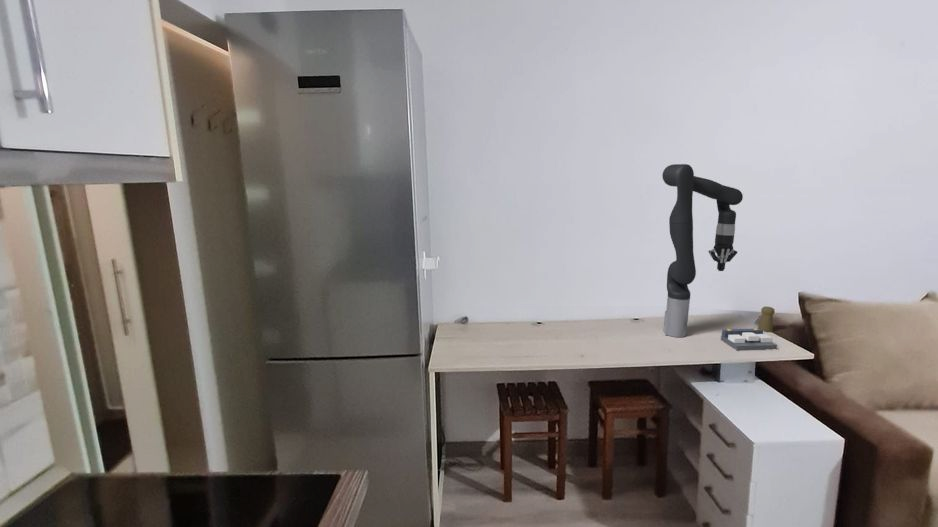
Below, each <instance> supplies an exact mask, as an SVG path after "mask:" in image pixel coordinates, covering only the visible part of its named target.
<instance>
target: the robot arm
mask: <svg viewBox="0 0 938 527" xmlns="http://www.w3.org/2000/svg"><path fill="white" fill-rule="evenodd" d="M661 176H662V180H663V182H664V184H666V185H667V186H669V187H675V188H676V190H677V191H676V201H675V204H674V206H673V208H672V210H671V212H670V215H669V218H668V220H669V222H668V223H669V225H668V227H669V235H670V238H671V242H672V245H673V248H674V251H675V256H676V257H675V258H676V259H675V261H673V262H671V263H670V264H669V266H668V269H667V275H666V290H667V299H666V310H665V311H664V316H663V317H664V318H663V319H664V321H663V327H662V328H663V329H662V331H663V333H664V335H665V336H669V337H673V338H685V337H686V336H687V332H688V322H689V313H690V312H689V311H690V305H691V304H690V302H691V291H690V288H689V287H688V285H690V284H692V283H693V282H694V281H695V278H696V275H697V269H696V263H695V262H696V261H695V257H694V256H695V255H694V220H693V217H694V216H693V197H694V196H693V194H694V193H697V194H699V195H701V196H704V197H707V198H709V199H713V200H716V208H717V211H718V216H717V224H716V228H715V238H714V246H713V249H711V250H710V249H709V250H708V251H707V252H708V253H709V256H710V257H711V258H712V260H713V261H714V262H716V263H717V268H716V269H717V271H718V272H724V271H725V269H726V263H727V262H728V263H729V262H731V261H733V260H732V259H733V258H735V256H736V255H737V254H738V251H737V250H735V248H734V246H733V245H734V242H735V234H736V233H735V231H736V220H737V219H736V218H737V212H736V211H735V210H733V209H731V206H735V205H737V206H738V205H739V204H740V203H741V202H742V201H743V199H744V197H743V196H744V194H743V193H742V191H740V189H739V188H735V187H731V186H728V185H724V184H721V183H720V182H717V181H714V180H712V179H708V178H705V177H700V176H697V175H695V172H694V170H693V168H692V166H691V165H690V164H687V163H685V164H684V163H680V164H679V163H678V164H677V163H675V164H670V165H667V166H666V167H665V168H664V170H663V171H662V175H661Z"/></svg>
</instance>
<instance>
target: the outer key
mask: <svg viewBox="0 0 938 527" xmlns="http://www.w3.org/2000/svg"><path fill="white" fill-rule="evenodd" d="M756 335H758V336H759V341H760V342H762V343H765V342H772V343H773V341H774V338H773V336H770V335H769V334H767V333H763V334H756Z"/></svg>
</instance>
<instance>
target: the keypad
mask: <svg viewBox="0 0 938 527" xmlns="http://www.w3.org/2000/svg"><path fill="white" fill-rule="evenodd" d="M746 332H753V333H755V334H764V332H763V330H762V329H760V328H758V327H755V328H723V329H722V330H721V336H720V341H722V342H723V343H724V344H727V346H730V347H731V348H732V349H733V350H736V351H767V350H766V349H776V350H777V347H778V344H776V343H774V342H773V341H772V342H765V343H762V342H760V341H748V340H746V339H745V343H733V342H732V341H730V340H728V335H740V336H742V333H746Z"/></svg>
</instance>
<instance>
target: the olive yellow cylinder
mask: <svg viewBox="0 0 938 527" xmlns="http://www.w3.org/2000/svg"><path fill="white" fill-rule="evenodd" d="M760 311H761V313H762V314H761V317H760V320H759V323H758V327H757V328H760V329H762V330H763V331H764V332H763V333H773V332H774V331H773V330H774V328H773V327H774V326H773V325H774V322H773V321H774V318H773V315H774V314H775V309H774V308H773V307H771V306H763V307H761V309H760Z"/></svg>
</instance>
